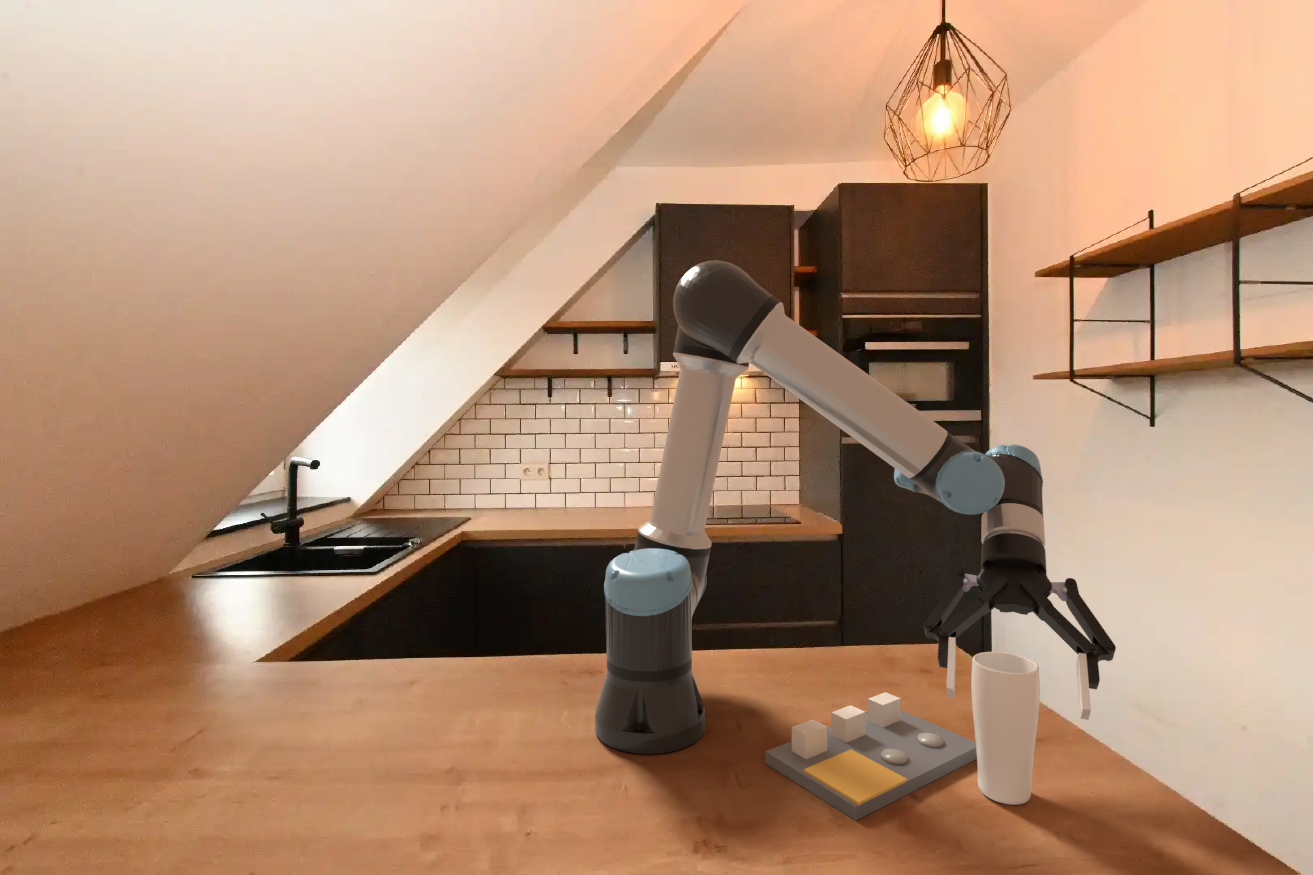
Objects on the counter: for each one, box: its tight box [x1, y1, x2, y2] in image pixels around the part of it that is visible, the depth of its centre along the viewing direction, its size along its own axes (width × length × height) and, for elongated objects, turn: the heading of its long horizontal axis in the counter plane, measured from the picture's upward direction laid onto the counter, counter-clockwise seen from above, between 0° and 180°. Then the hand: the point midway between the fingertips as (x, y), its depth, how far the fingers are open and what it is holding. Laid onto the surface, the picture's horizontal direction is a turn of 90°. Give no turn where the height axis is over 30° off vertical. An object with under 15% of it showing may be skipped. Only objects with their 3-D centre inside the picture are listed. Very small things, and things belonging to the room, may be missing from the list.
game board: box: [764, 691, 977, 821], centre depth 84 cm, size 14×23×4 cm, turn 123°
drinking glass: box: [970, 651, 1041, 806], centre depth 76 cm, size 7×7×15 cm
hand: (1015, 703), depth 77 cm, fingers open, 13 cm apart
